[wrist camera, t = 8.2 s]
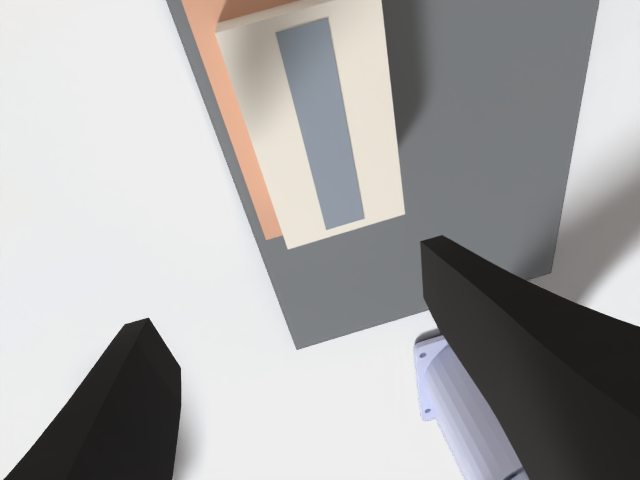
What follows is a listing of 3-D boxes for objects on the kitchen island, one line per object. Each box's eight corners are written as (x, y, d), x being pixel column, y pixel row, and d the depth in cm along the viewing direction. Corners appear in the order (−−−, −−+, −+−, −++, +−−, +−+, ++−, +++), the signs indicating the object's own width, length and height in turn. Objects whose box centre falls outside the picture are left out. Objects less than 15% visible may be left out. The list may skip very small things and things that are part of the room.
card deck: (349, -14, 14) (380, -13, 11) (378, 179, 19) (405, 214, 16) (217, 22, 14) (214, 33, 11) (278, 208, 19) (287, 250, 16)
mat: (546, 269, 26) (551, 273, 25) (295, 345, 25) (296, 351, 24) (616, -149, 14) (628, -153, 14) (155, -33, 13) (153, -33, 13)
